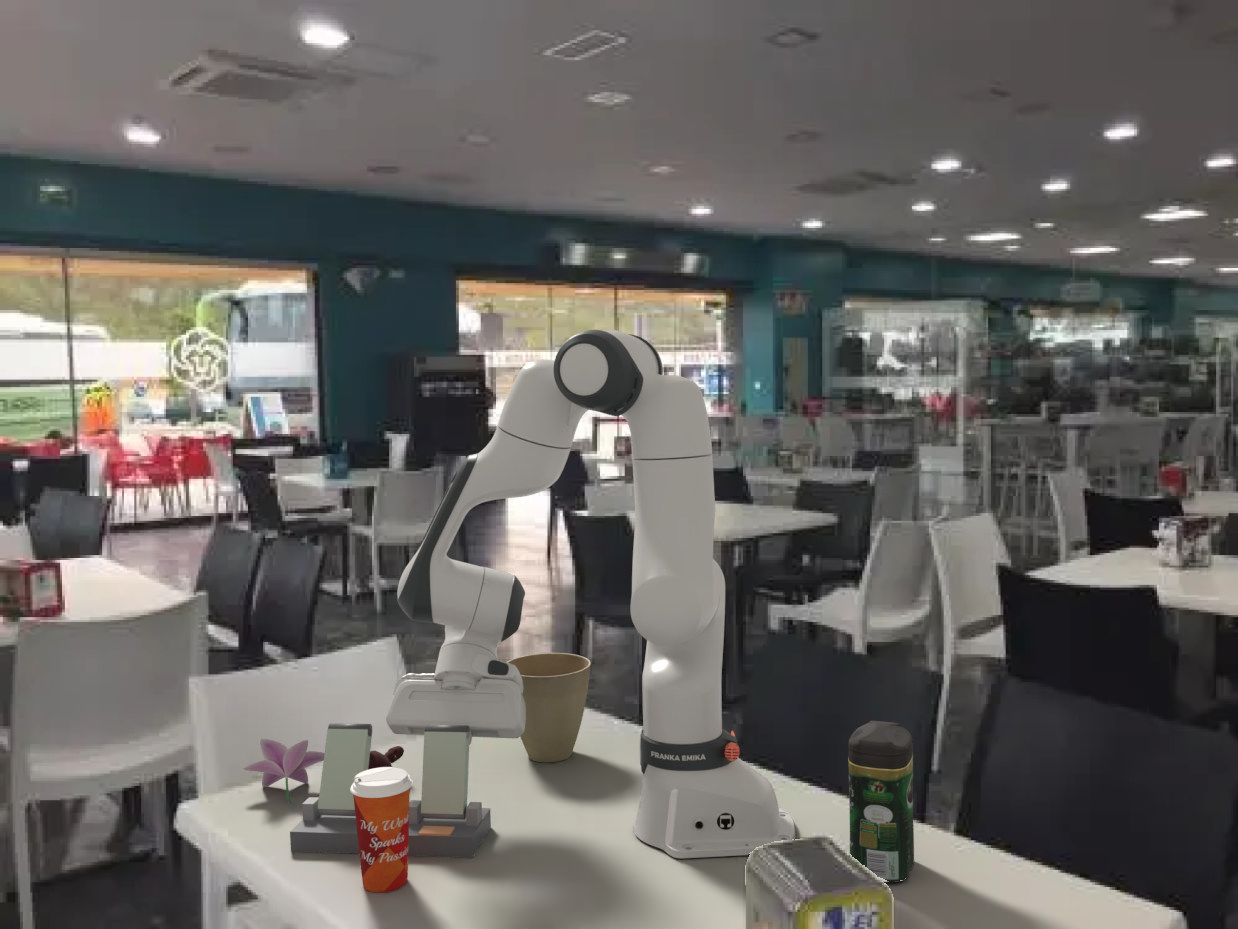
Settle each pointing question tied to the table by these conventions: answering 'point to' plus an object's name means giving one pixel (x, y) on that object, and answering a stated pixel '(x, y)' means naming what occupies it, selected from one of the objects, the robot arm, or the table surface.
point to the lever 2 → (445, 771)
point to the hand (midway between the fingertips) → (447, 762)
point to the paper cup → (382, 827)
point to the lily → (285, 762)
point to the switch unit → (423, 832)
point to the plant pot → (552, 702)
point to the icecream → (385, 757)
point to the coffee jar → (882, 799)
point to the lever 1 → (343, 766)
